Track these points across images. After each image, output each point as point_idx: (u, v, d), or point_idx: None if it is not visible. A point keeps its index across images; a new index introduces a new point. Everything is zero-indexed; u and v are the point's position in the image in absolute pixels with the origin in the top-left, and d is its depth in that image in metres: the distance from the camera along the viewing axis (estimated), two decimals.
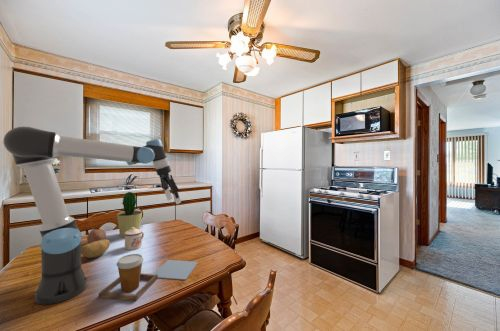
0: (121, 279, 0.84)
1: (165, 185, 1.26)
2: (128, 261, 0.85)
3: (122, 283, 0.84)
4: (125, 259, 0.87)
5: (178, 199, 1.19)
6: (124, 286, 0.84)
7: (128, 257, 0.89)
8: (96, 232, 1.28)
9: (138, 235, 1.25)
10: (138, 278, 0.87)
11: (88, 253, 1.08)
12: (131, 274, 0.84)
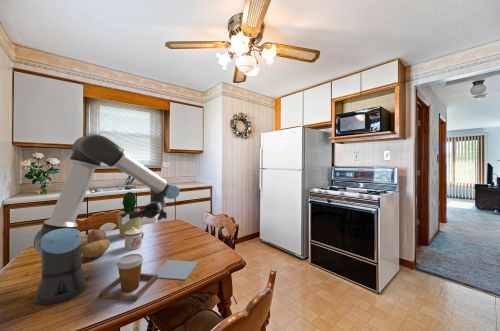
0: (121, 279, 0.84)
1: (135, 215, 1.05)
2: (128, 261, 0.85)
3: (122, 283, 0.84)
4: (125, 259, 0.87)
5: (157, 219, 1.00)
6: (124, 286, 0.84)
7: (128, 257, 0.89)
8: (96, 232, 1.28)
9: (138, 235, 1.25)
10: (138, 278, 0.87)
11: (88, 253, 1.08)
12: (131, 274, 0.84)
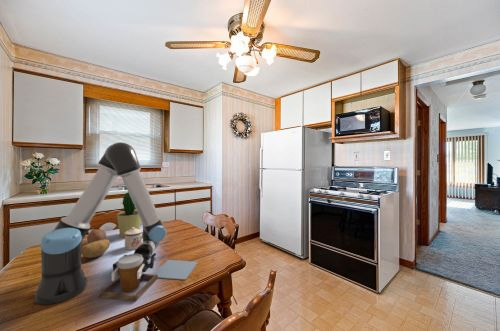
0: (121, 279, 0.84)
1: None
2: (128, 261, 0.85)
3: (122, 283, 0.84)
4: (125, 259, 0.87)
5: (141, 273, 0.86)
6: (124, 286, 0.84)
7: (128, 257, 0.89)
8: (96, 232, 1.28)
9: (138, 235, 1.25)
10: None
11: (88, 253, 1.08)
12: (131, 274, 0.84)
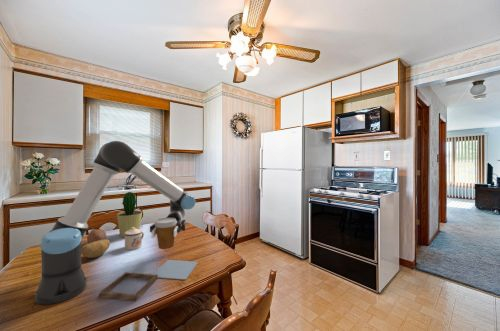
0: (159, 237, 0.94)
1: None
2: (165, 222, 0.95)
3: (160, 241, 0.94)
4: (161, 220, 0.97)
5: (176, 232, 0.96)
6: (162, 243, 0.94)
7: (163, 219, 0.99)
8: (96, 232, 1.28)
9: (138, 235, 1.25)
10: (173, 238, 0.97)
11: (88, 253, 1.08)
12: (168, 233, 0.94)
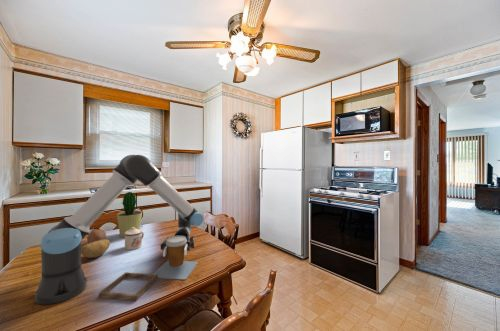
0: (170, 256, 0.99)
1: None
2: (175, 241, 1.00)
3: (171, 259, 0.99)
4: (171, 239, 1.02)
5: (186, 251, 1.00)
6: (172, 261, 0.99)
7: (174, 238, 1.03)
8: (96, 232, 1.28)
9: (138, 235, 1.25)
10: (183, 255, 1.02)
11: (88, 253, 1.08)
12: (179, 252, 0.99)
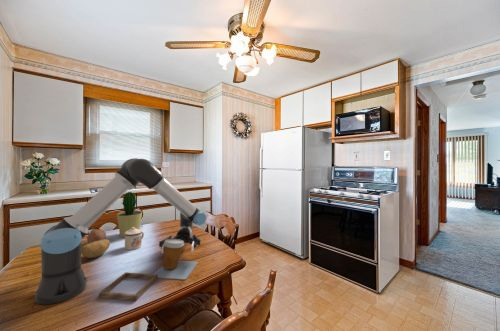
0: (165, 257, 1.00)
1: None
2: (173, 242, 1.02)
3: (166, 260, 1.00)
4: (170, 241, 1.04)
5: (193, 247, 1.06)
6: (167, 263, 1.00)
7: (172, 240, 1.06)
8: (96, 232, 1.28)
9: (138, 235, 1.25)
10: (178, 259, 1.03)
11: (88, 253, 1.08)
12: (175, 254, 1.00)
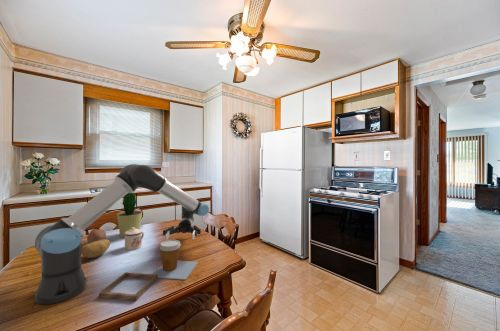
0: (163, 260, 0.99)
1: (173, 231, 1.21)
2: (169, 245, 1.01)
3: (164, 263, 0.99)
4: (165, 243, 1.02)
5: (194, 236, 1.15)
6: (165, 266, 0.99)
7: (168, 242, 1.04)
8: (96, 232, 1.28)
9: (138, 235, 1.25)
10: (176, 260, 1.02)
11: (88, 253, 1.08)
12: (172, 256, 0.99)
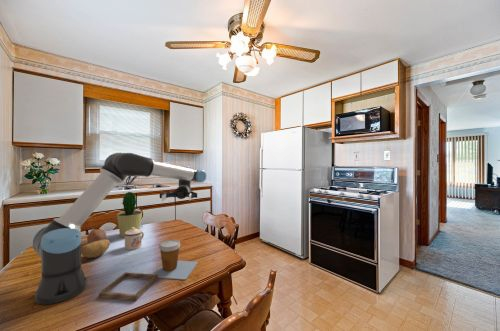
0: (163, 260, 0.99)
1: (170, 194, 1.21)
2: (168, 245, 1.00)
3: (164, 263, 0.99)
4: (165, 243, 1.02)
5: (190, 197, 1.16)
6: (165, 266, 0.99)
7: (168, 242, 1.04)
8: (96, 232, 1.28)
9: (138, 235, 1.25)
10: (176, 260, 1.02)
11: (88, 253, 1.08)
12: (172, 256, 0.99)
